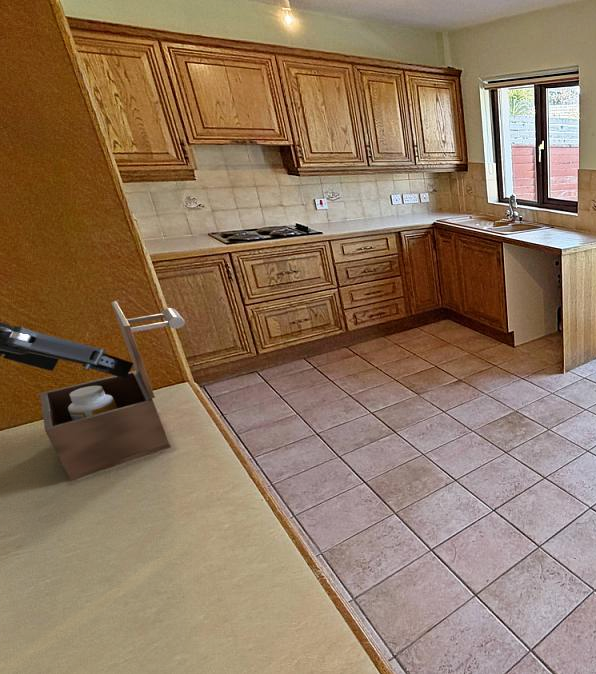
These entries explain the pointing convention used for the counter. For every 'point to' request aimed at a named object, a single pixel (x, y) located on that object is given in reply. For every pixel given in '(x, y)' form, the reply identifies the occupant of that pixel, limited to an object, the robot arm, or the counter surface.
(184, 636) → the counter surface
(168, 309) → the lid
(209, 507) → the counter surface
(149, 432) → the chest
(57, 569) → the counter surface
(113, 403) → the supplement bottle
